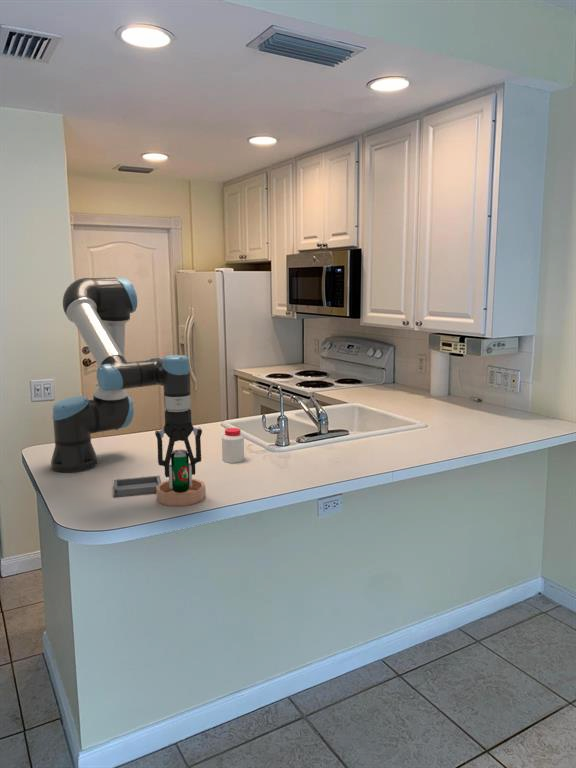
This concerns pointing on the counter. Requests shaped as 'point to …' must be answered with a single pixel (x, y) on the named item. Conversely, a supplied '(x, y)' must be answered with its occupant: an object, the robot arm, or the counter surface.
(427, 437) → the counter surface
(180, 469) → the soda can
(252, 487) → the counter surface
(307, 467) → the counter surface
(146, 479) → the tray
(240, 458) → the pill bottle
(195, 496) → the bowl
